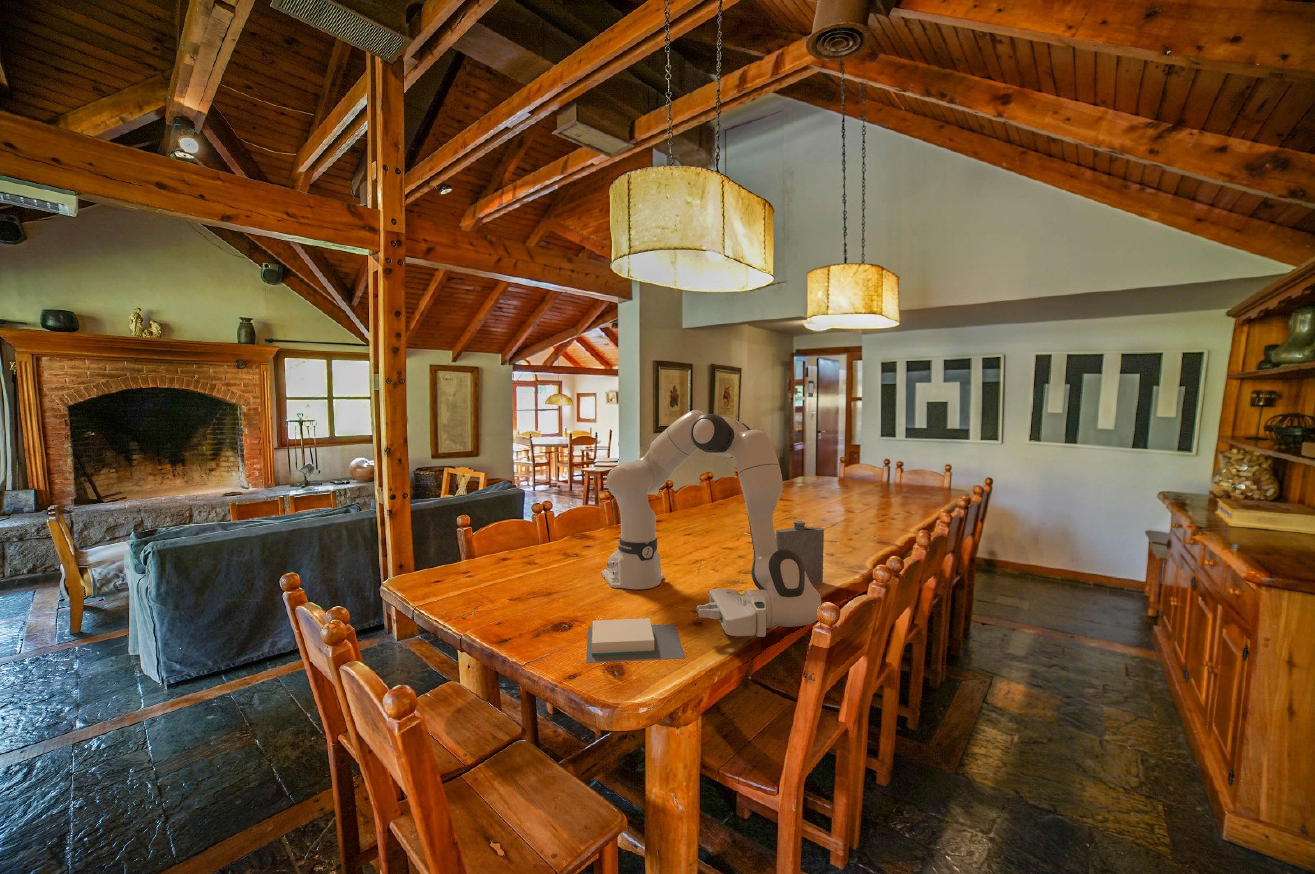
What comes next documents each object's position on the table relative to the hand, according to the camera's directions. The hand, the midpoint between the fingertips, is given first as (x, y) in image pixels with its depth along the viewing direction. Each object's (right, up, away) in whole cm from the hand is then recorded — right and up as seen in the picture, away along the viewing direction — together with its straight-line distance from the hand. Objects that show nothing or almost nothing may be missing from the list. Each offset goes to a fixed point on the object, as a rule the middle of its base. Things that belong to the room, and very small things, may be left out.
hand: (697, 611), depth 123 cm
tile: (-11, -5, -1) cm, 12 cm away
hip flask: (+35, -5, +40) cm, 54 cm away
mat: (-15, -7, -1) cm, 17 cm away
